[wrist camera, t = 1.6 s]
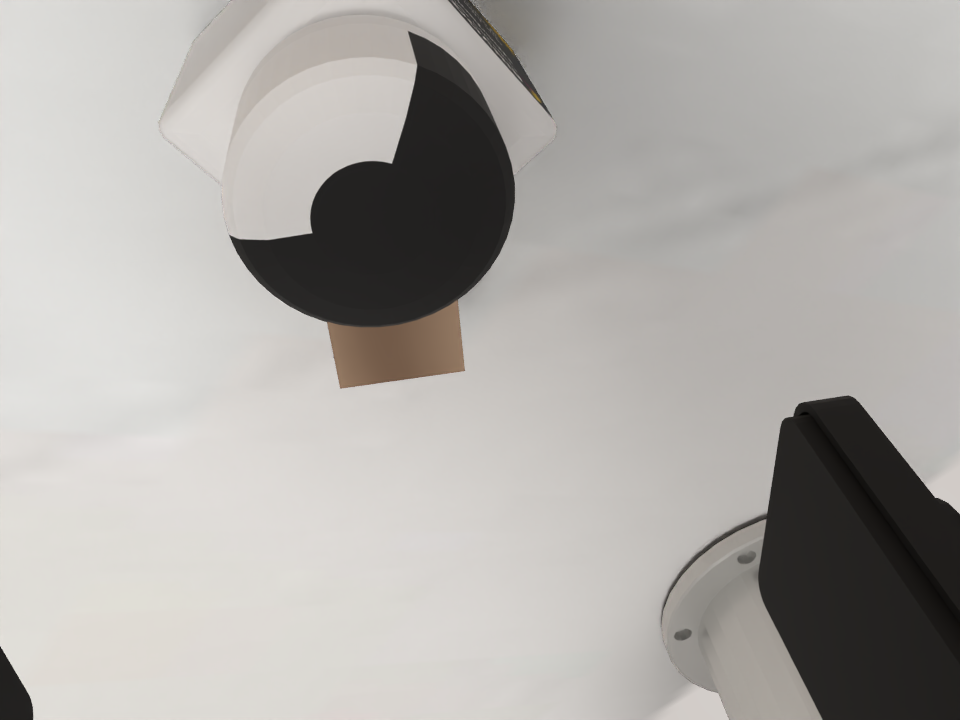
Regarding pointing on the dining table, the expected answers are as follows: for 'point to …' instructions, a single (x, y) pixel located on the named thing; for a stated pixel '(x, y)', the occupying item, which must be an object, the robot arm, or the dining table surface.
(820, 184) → the dining table surface
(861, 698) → the robot arm
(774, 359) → the dining table surface
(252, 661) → the dining table surface
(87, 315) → the dining table surface
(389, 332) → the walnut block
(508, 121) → the medicine bottle
